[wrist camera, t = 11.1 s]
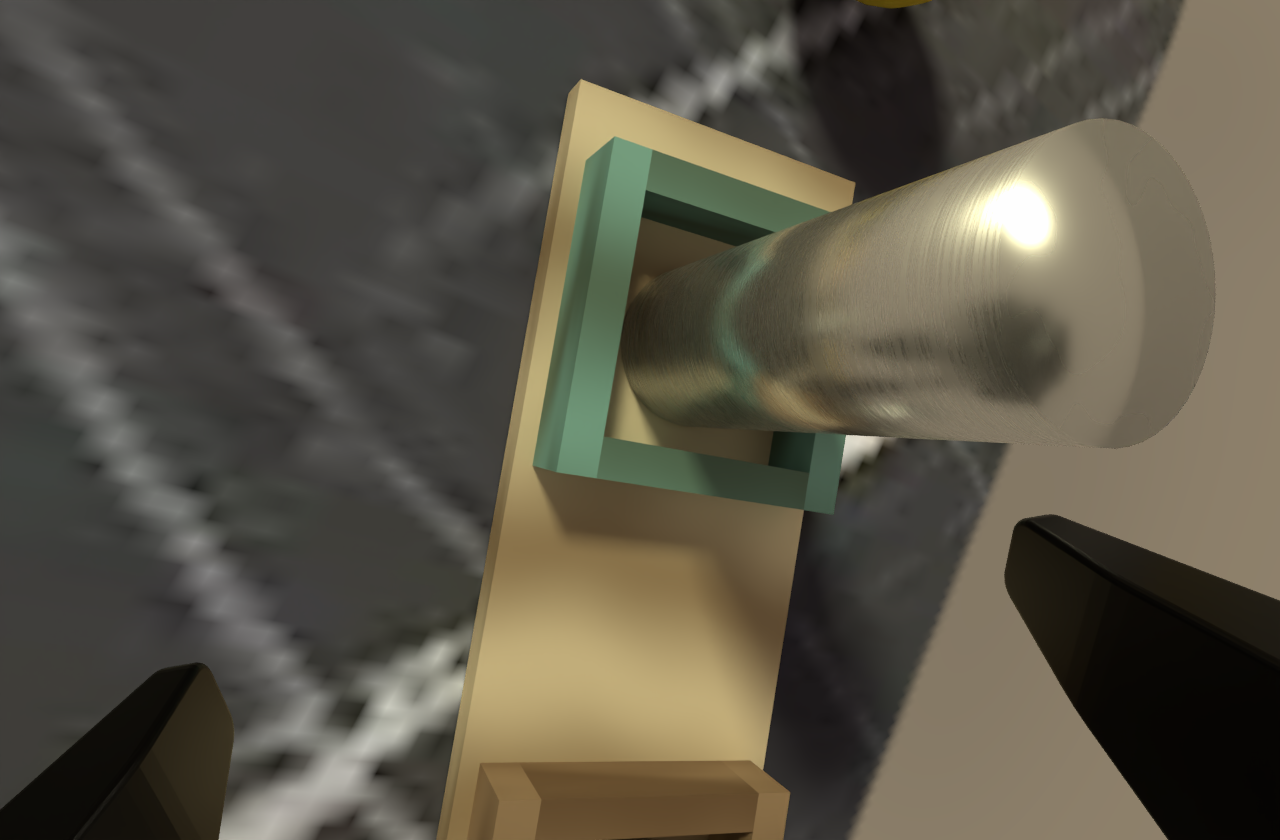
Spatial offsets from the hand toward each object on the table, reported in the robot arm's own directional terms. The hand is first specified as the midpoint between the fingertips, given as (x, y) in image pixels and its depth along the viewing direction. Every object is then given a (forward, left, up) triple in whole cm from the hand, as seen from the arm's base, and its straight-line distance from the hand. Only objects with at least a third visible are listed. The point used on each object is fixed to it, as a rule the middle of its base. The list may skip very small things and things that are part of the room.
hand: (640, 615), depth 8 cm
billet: (+5, -6, -11) cm, 13 cm away
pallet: (-2, -6, -12) cm, 14 cm away
